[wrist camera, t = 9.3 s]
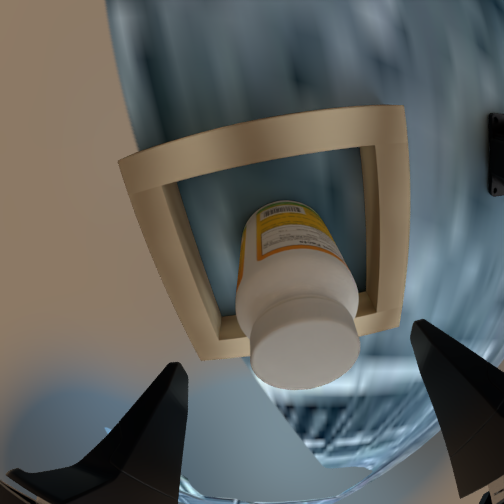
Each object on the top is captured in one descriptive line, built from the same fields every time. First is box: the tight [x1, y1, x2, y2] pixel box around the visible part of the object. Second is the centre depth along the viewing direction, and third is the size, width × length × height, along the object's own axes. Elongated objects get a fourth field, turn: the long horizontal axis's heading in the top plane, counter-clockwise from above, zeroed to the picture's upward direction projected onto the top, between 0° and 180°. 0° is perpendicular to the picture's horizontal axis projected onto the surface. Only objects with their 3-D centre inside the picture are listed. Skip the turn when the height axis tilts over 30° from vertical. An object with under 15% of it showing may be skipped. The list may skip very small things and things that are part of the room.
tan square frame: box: [118, 105, 410, 361], centre depth 17 cm, size 15×15×2 cm
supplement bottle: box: [236, 200, 360, 390], centre depth 13 cm, size 5×5×10 cm
